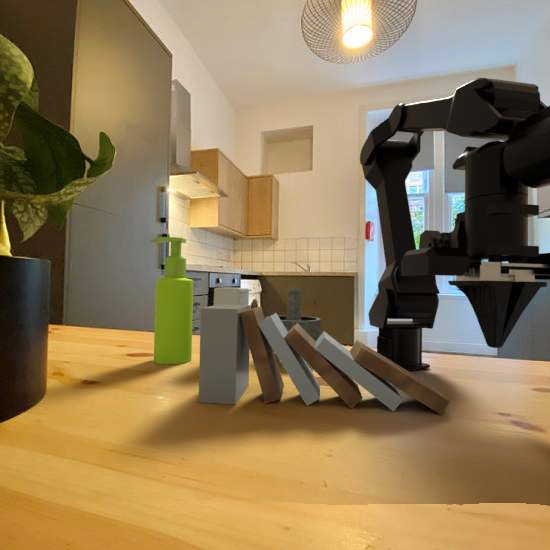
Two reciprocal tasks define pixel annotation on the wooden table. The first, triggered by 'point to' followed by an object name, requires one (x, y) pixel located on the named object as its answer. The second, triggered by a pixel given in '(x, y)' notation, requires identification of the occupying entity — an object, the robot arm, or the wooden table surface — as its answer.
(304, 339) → the domino
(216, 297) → the skincare box
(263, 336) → the domino
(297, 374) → the domino
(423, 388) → the domino
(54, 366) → the wooden table surface
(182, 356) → the soap dispenser
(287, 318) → the mortar and pestle
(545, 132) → the robot arm
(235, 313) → the bookend
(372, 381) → the domino
